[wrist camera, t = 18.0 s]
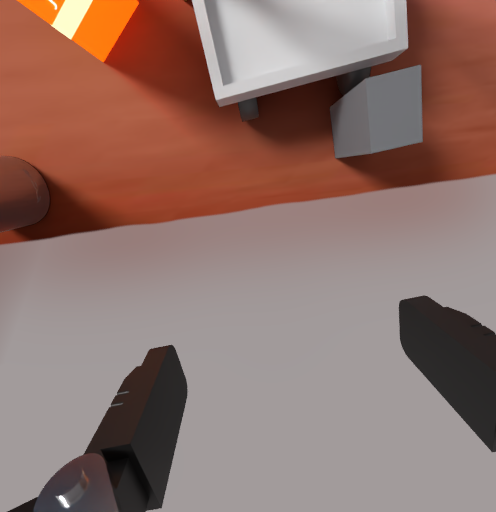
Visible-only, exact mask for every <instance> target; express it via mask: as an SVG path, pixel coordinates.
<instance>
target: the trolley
mask: <svg viewBox="0 0 496 512" xmlns="http://www.w3.org/2000/svg"><path fill="white" fill-rule="evenodd" d="M192 3H193V7H194V11H195V15H196V20H197V24H198V28H199V32H200V36H201V40H202V45H203V49H204V53H205V57H206V61H207V66H208V70H209V74H210V78H211V82H212V86H213V91H214V95H215V99H216V101H217V103H218V105H219V107H222V106H225V105H229V104H233V103H237V102H238V106H239V110H240V115H241V120H242V122H243V121H247V120H251V119H254V118H258V117H259V113H258V106H257V100H256V97H259V96H263V95H266V94H270V93H274V92H278V91H281V90H285V89H289V88H292V87H296V86H300V85H304V84H307V83H311V82H315V81H318V80H322V79H326V78H330V77H333V76H336V80H337V85H338V88H339V91H340V93H341V94H342V95H346V94H347V93H348V92H349V91H351V90H352V89H353V88H354V87H356V86H357V85H358V84H359V83H361V82H362V81H363V80H364V79H366V78H369V77H370V71H371V66H374V65H378V64H382V63H386V62H389V61H392V60H394V59H395V58H396V57H397V56H399V55H400V54H401V53H402V52H404V51H405V50H406V49H408V29H407V6H406V0H192Z"/></svg>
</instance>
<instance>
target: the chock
mask: <svg viewBox="0 0 496 512" xmlns="http://www.w3.org/2000/svg"><path fill="white" fill-rule="evenodd" d="M330 116H331V124H332V133H333V142H334V150H335V158H341V157H349V156H356V155H364V154H371V153H376V152H380V151H385V150H389V149H393V148H398V147H402V146H406V145H411V144H415V143H419V142H423V133H422V86H421V65H417V66H413V67H409V68H405V69H401V70H397V71H393V72H389V73H386V74H382V75H378V76H374V77H370V78H366V79H364V80H363V81H362V82H361V83H359V84H358V85H357V86H356V87H354V88H353V89H352V90H351V91H349V92H348V93H347V94H346V95H344V96H343V97H342V98H341V99H339V100H338V101H337V102H336V103H334V104H333V105H332V106H331V107H330Z"/></svg>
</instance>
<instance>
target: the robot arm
mask: <svg viewBox="0 0 496 512" xmlns="http://www.w3.org/2000/svg"><path fill="white" fill-rule="evenodd" d="M49 203H50V197H49V191H48V188H47V185H46V183H45V181H44V179H43V177H42V176H41V175H40V174H39V172H38V171H37V170H36V169H35V168H34V167H32V166H31V165H30V164H28V163H27V162H25V161H24V160H21V159H19V158H16V157H10V156H0V232H4V231H8V230H12V229H16V228H20V227H24V226H28V225H32V224H35V223H37V222H39V221H40V220H41V219H42V218H43V217H44V216H45V215H46V213H47V211H48V208H49ZM399 323H400V341H401V344H402V347H403V349H404V351H405V353H406V355H407V356H408V358H409V359H410V360H411V361H412V362H413V363H414V364H415V365H416V367H417V368H418V369H419V370H420V371H421V372H422V373H423V375H424V376H425V377H426V378H427V379H428V380H429V381H430V382H431V384H432V385H433V386H434V387H435V388H436V389H437V390H438V391H439V392H440V394H441V395H442V396H443V397H444V398H445V399H446V400H447V402H448V403H449V404H450V405H451V406H452V407H453V408H454V410H455V411H456V412H457V413H458V414H459V415H460V416H461V417H462V418H463V420H464V421H465V422H466V423H467V424H468V425H469V426H470V428H471V429H472V430H473V431H474V432H475V433H476V434H477V436H478V437H479V438H480V439H481V440H482V441H483V442H484V443H485V445H486V446H487V447H488V448H489V449H490V450H491V451H492V452H496V335H495V333H494V332H493V331H492V330H490V329H489V328H487V327H486V326H482V325H481V323H479V322H478V321H476V320H475V319H473V318H472V317H470V316H469V315H467V314H465V313H462V312H460V311H457V310H454V309H452V308H449V307H442V306H441V305H439V304H438V303H436V302H435V301H434V300H432V299H431V298H429V297H428V296H420V297H415V298H410V299H404V300H401V301H400V303H399ZM186 399H187V382H186V378H185V375H184V373H183V370H182V367H181V364H180V361H179V358H178V355H177V353H176V350H175V348H174V346H173V345H168V346H163V347H158V348H154V349H150V350H149V351H148V353H147V355H146V357H145V359H144V362H143V363H142V365H141V366H138V367H136V368H135V369H134V370H133V371H132V372H131V373H130V374H129V375H128V376H127V377H126V378H125V379H124V381H123V383H122V385H121V387H120V389H119V390H118V392H117V395H116V396H115V398H114V399H113V401H112V403H111V407H109V409H108V411H107V412H106V414H105V416H104V418H103V420H102V422H101V424H100V425H99V427H98V429H97V431H96V433H95V434H94V436H93V438H92V440H91V442H90V444H89V446H88V447H87V449H86V451H85V453H84V455H82V456H79V457H77V458H75V459H73V460H72V461H70V462H69V463H67V464H66V465H65V466H63V467H62V468H61V469H60V470H59V471H57V472H56V473H55V475H54V476H53V477H51V479H50V480H49V481H48V482H47V484H46V485H45V486H44V488H43V489H42V491H41V492H40V494H39V496H38V497H36V498H34V499H32V500H30V501H28V502H26V503H24V504H22V505H20V506H18V507H16V508H14V509H12V510H10V511H8V512H145V511H147V510H153V509H158V508H162V503H163V499H164V495H165V490H166V486H167V482H168V477H169V473H170V469H171V465H172V460H173V456H174V451H175V447H176V443H177V438H178V434H179V429H180V425H181V421H182V417H183V412H184V408H185V403H186Z"/></svg>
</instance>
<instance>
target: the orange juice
mask: <svg viewBox="0 0 496 512" xmlns="http://www.w3.org/2000/svg"><path fill="white" fill-rule="evenodd" d="M17 1H19V2H20V3H21V4H23V5H24V6H26V7H27V8H28V9H30V10H31V11H33V12H34V13H35V14H37V15H38V16H39V17H41V18H42V19H44V20H45V21H46V22H48V23H49V24H50V25H51V26H53V27H54V28H55V29H57V30H58V31H60V32H61V33H62V34H64V35H65V36H67V37H68V38H69V39H72V40H73V41H74V42H76V43H77V44H79V45H80V46H81V47H83V48H84V49H85V50H87V51H88V52H90V53H91V54H92V55H94V56H95V57H97V58H98V59H99V60H101V61H102V62H104V61H105V59H106V57H107V56H108V54H109V52H110V51H111V49H112V47H113V46H114V44H115V42H116V41H117V39H118V37H119V36H120V34H121V32H122V31H123V29H124V27H125V26H126V24H127V22H128V21H129V19H130V17H131V16H132V14H133V12H134V11H135V9H136V7H137V6H138V4H139V3H138V1H137V0H17Z"/></svg>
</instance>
